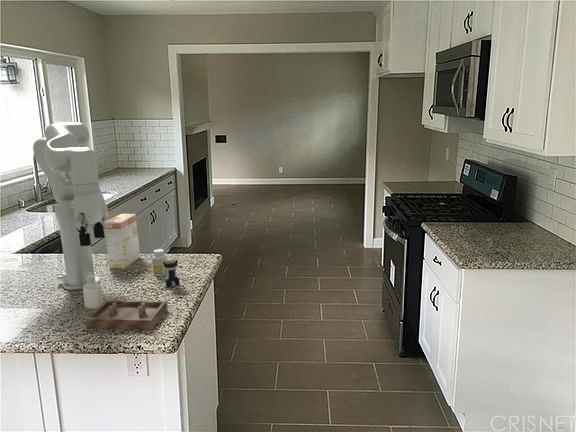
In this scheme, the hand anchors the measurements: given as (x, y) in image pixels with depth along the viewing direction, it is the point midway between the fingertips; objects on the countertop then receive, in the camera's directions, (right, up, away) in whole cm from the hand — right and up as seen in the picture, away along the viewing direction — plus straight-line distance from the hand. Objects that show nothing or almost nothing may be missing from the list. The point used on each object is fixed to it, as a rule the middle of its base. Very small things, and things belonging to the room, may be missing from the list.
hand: (92, 241), depth 154 cm
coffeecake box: (-6, -12, +48) cm, 50 cm away
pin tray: (+13, -24, -5) cm, 28 cm away
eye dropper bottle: (-1, -22, +4) cm, 22 cm away
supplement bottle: (+13, -15, +34) cm, 39 cm away
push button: (+20, -17, +21) cm, 34 cm away
